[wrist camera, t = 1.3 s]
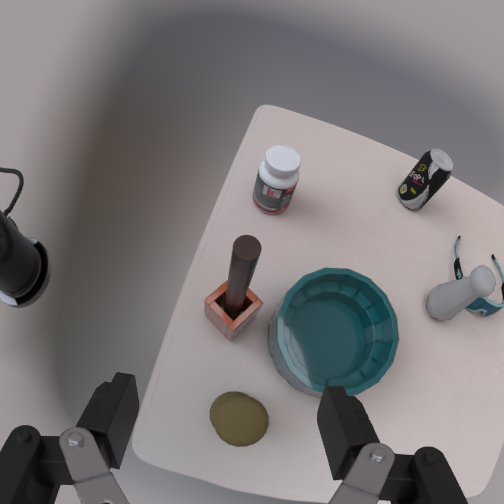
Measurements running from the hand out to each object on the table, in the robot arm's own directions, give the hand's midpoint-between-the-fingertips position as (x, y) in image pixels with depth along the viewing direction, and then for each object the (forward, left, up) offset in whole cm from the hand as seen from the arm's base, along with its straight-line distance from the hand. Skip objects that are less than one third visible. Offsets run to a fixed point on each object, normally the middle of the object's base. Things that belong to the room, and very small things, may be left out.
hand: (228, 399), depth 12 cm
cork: (+3, 0, -27) cm, 27 cm away
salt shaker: (+16, +32, -27) cm, 45 cm away
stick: (-6, +8, -26) cm, 28 cm away
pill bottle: (-15, +25, -27) cm, 40 cm away
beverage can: (+1, +46, -27) cm, 54 cm away
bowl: (+5, +15, -27) cm, 31 cm away
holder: (-6, +8, -27) cm, 29 cm away
